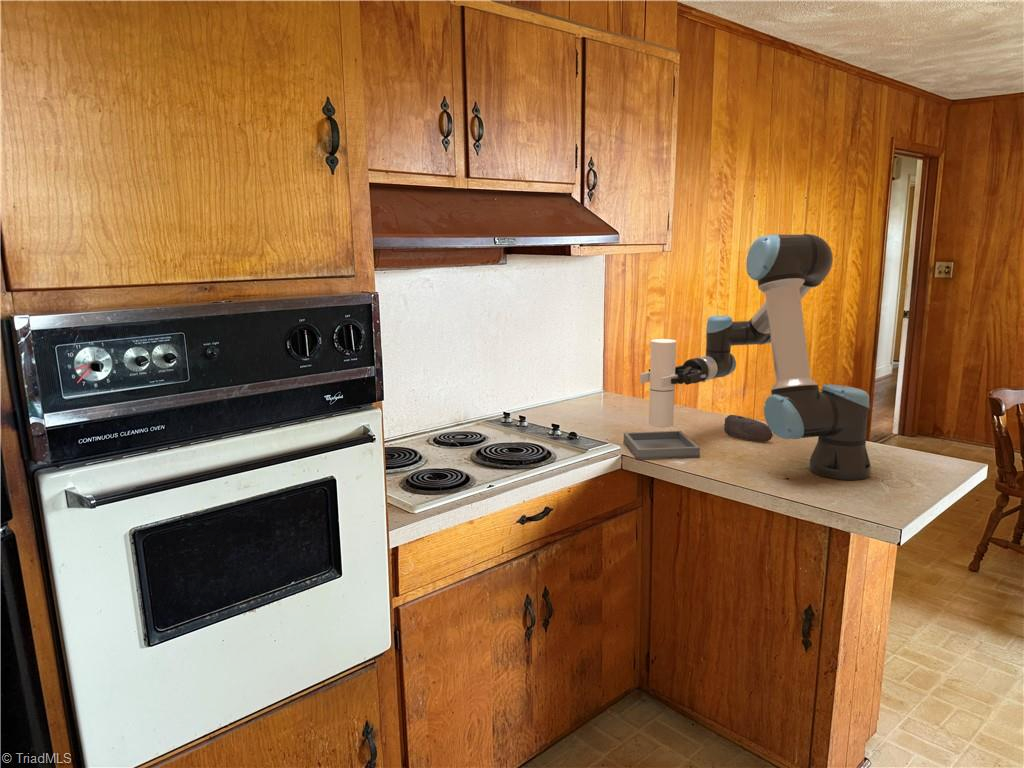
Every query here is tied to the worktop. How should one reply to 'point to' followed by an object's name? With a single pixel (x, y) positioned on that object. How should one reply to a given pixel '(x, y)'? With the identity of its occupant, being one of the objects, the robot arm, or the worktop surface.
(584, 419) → the worktop surface
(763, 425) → the perforated stone tool
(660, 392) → the cylindrical container
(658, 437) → the slate tray
